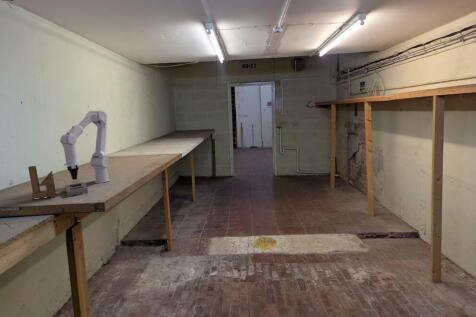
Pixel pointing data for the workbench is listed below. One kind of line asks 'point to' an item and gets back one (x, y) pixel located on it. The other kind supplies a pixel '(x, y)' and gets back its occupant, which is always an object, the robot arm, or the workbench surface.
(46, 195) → the wooden stand
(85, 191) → the socket plate
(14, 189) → the workbench surface
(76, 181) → the block
